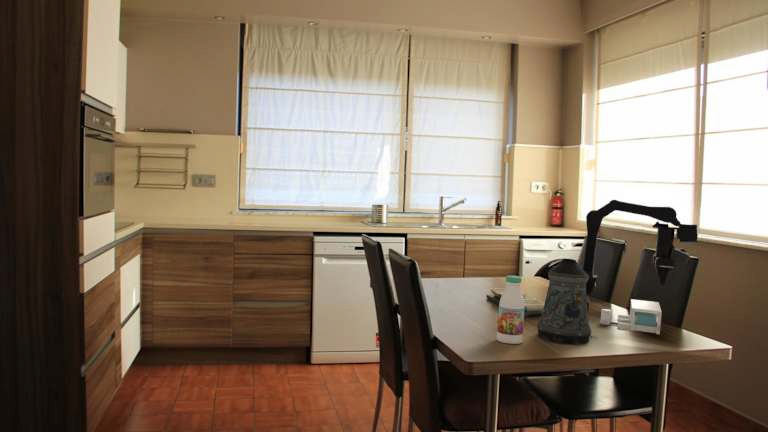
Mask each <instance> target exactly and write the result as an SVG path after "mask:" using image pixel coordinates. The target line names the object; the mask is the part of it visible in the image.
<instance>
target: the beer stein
mask: <svg viewBox="0 0 768 432" xmlns="http://www.w3.org/2000/svg"><path fill="white" fill-rule="evenodd" d="M547 275H548V279H549V284H548V287H547V291H546V297H545V300H544V305H543V309H542V312H541V315H540V318H539V321H538V322H537V326H536V327H537V335H538V337H539V339H542V340H544V341H547V342H550V343H555V344H561V345H562V344H563V345H568V346H569V345H573V346H578V345H580V346H581V345H585V344H588V343H590V339H591V335H592V329H591V325H590V322H589V315H588V314H589V313H588V312H589V311H587V297H588V296H587V297H586V283H587V282H588V279H589V276H588V275H587V273H586V272H585V271H584V270H583V267H581V266H580V265H579V264H578V262H577V260H576V259H574V258H573V259H572V258H562V259H561V261H560V262H559V263H558V264H556V265H555V266H553V268H551V269H550V270H549V271H548V273H547Z"/></svg>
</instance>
